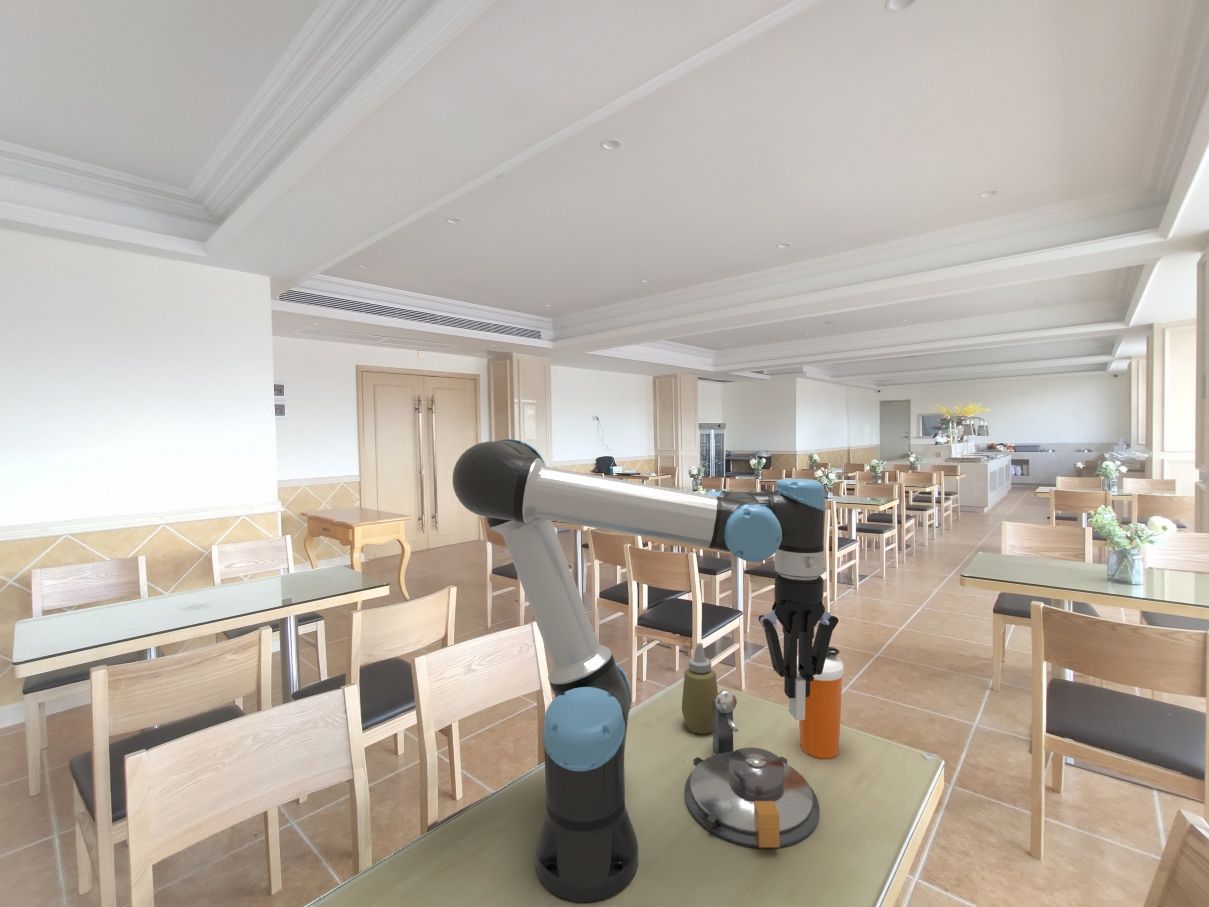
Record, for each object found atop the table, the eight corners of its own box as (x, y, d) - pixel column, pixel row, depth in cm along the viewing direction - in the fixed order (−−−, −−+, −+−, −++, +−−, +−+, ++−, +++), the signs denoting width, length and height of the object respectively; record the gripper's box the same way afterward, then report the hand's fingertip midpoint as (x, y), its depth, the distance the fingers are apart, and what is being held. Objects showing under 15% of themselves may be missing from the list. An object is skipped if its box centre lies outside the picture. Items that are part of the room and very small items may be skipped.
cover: (734, 803, 90) (734, 775, 90) (725, 769, 99) (724, 744, 99) (790, 803, 90) (790, 776, 89) (776, 769, 99) (776, 744, 98)
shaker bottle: (848, 764, 104) (848, 659, 103) (798, 759, 105) (797, 656, 104) (838, 737, 112) (838, 641, 111) (792, 734, 114) (791, 638, 113)
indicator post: (726, 773, 102) (725, 704, 101) (710, 749, 110) (709, 684, 109) (746, 770, 102) (745, 702, 102) (729, 746, 110) (728, 682, 110)
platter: (701, 847, 82) (701, 814, 82) (684, 758, 105) (683, 732, 104) (837, 847, 82) (837, 814, 81) (791, 757, 104) (790, 731, 104)
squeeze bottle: (692, 713, 123) (691, 634, 122) (726, 724, 118) (725, 641, 118) (674, 730, 117) (673, 646, 116) (710, 742, 112) (709, 654, 111)
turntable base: (693, 849, 84) (693, 842, 84) (678, 761, 106) (678, 756, 106) (841, 849, 83) (841, 842, 83) (794, 760, 105) (794, 755, 105)
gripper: (769, 581, 86) (768, 730, 87) (849, 579, 87) (846, 725, 88) (751, 569, 93) (750, 706, 94) (825, 567, 95) (822, 702, 96)
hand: (796, 715), depth 91 cm, fingers closed
